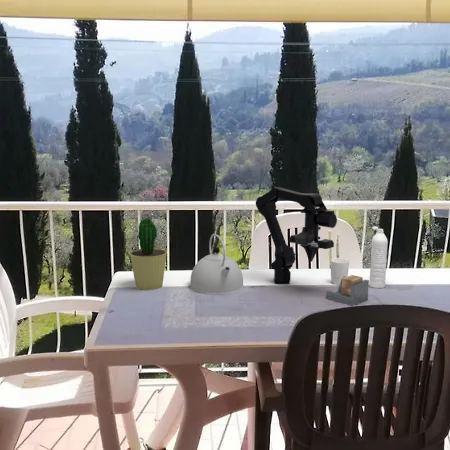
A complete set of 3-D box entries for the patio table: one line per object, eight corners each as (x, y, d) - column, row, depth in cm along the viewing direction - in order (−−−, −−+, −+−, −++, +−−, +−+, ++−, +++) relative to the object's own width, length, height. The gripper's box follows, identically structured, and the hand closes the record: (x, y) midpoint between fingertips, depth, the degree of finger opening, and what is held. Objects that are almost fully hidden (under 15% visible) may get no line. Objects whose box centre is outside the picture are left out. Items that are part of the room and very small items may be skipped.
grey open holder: (325, 298, 219) (326, 279, 218) (339, 292, 227) (340, 273, 225) (353, 305, 211) (354, 285, 209) (367, 299, 218) (368, 280, 216)
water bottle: (387, 287, 234) (391, 229, 229) (374, 288, 232) (377, 230, 227) (377, 281, 242) (380, 226, 237) (363, 283, 240) (366, 226, 235)
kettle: (254, 292, 227) (254, 239, 222) (201, 298, 219) (201, 243, 214) (231, 276, 250) (231, 227, 245) (183, 281, 242) (183, 231, 237)
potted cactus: (165, 291, 227) (163, 220, 221) (127, 291, 227) (125, 219, 222) (169, 281, 242) (168, 213, 236) (134, 280, 242) (132, 213, 237)
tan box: (338, 297, 217) (339, 277, 216) (348, 293, 222) (349, 274, 220) (352, 300, 213) (353, 280, 211) (361, 296, 218) (362, 277, 216)
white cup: (343, 286, 235) (344, 263, 233) (326, 283, 240) (327, 260, 238) (351, 282, 241) (352, 260, 239) (334, 279, 246) (335, 257, 244)
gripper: (281, 224, 226) (280, 261, 229) (319, 230, 214) (317, 269, 217) (297, 220, 234) (296, 256, 237) (335, 226, 221) (333, 264, 224)
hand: (310, 261), depth 229 cm, fingers closed
